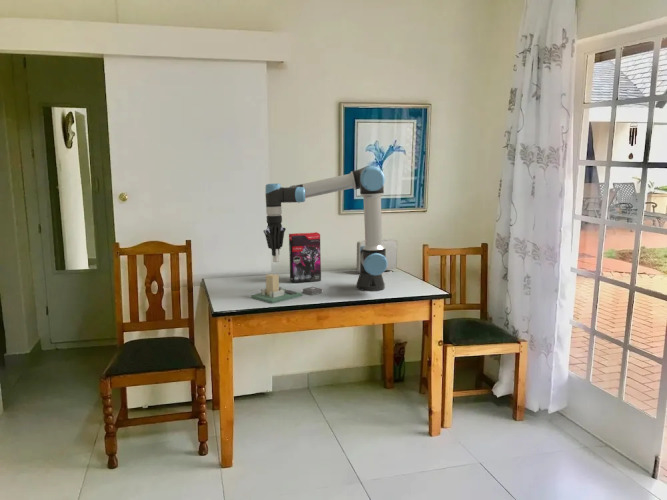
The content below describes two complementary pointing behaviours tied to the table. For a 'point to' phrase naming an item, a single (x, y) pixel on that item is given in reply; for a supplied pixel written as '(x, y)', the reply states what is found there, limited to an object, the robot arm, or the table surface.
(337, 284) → the table surface
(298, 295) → the board
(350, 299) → the table surface
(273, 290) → the plug
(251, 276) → the table surface
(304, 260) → the graphics card box
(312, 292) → the fan block
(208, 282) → the table surface
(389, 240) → the network device
